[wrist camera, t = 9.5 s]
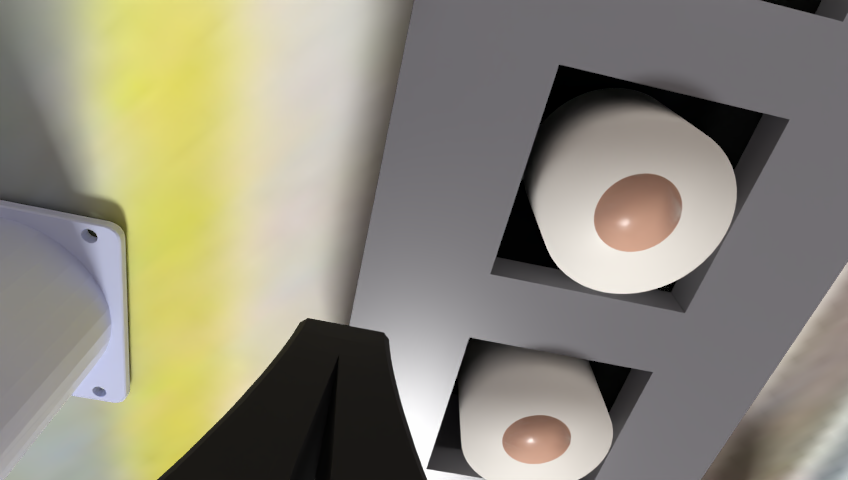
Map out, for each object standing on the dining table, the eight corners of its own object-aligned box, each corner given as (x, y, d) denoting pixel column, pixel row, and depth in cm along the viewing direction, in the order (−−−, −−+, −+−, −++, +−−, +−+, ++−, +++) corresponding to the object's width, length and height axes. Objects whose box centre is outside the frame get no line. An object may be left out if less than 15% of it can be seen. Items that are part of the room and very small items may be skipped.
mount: (337, 392, 22) (316, 489, 18) (510, -476, 11) (553, -697, 7) (619, 442, 24) (657, 543, 20) (1028, -305, 13) (1306, -420, 9)
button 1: (443, 406, 20) (445, 478, 17) (476, 306, 18) (484, 370, 15) (562, 427, 20) (581, 500, 18) (607, 331, 18) (637, 398, 16)
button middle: (503, 220, 16) (517, 275, 14) (553, 70, 14) (580, 99, 12) (645, 250, 17) (685, 308, 14) (712, 108, 15) (773, 145, 12)
